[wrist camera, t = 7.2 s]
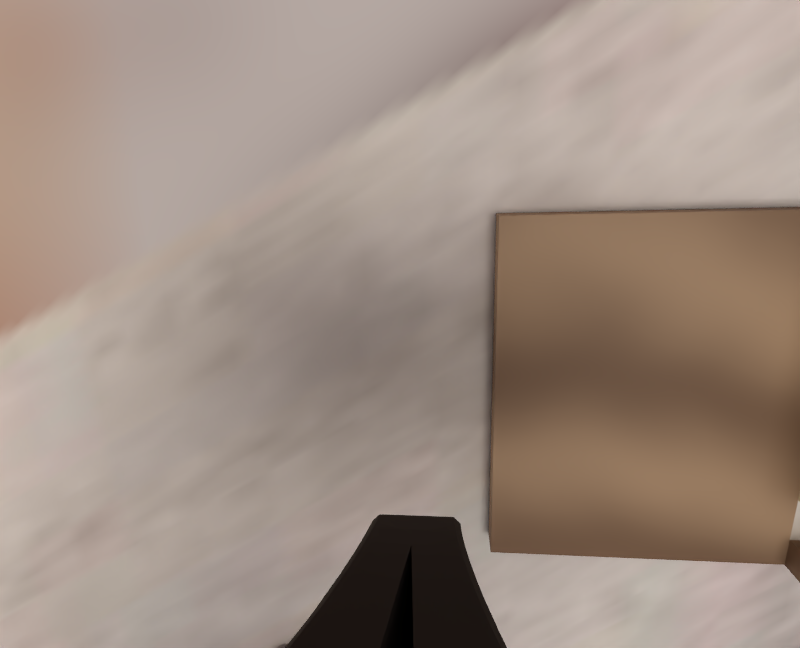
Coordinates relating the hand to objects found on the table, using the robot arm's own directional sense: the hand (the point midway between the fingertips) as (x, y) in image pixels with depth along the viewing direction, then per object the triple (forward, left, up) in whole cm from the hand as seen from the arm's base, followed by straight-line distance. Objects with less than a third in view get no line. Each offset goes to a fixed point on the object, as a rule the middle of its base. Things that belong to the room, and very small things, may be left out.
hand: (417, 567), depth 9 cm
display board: (-1, -11, -10) cm, 15 cm away
